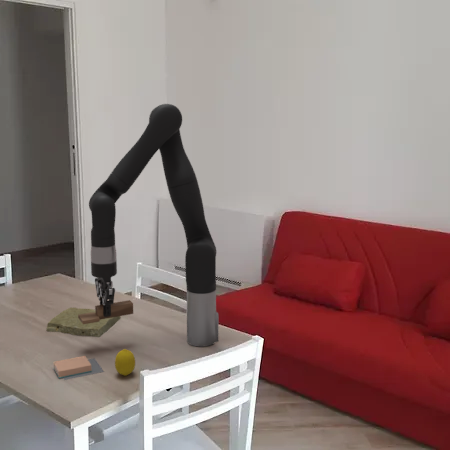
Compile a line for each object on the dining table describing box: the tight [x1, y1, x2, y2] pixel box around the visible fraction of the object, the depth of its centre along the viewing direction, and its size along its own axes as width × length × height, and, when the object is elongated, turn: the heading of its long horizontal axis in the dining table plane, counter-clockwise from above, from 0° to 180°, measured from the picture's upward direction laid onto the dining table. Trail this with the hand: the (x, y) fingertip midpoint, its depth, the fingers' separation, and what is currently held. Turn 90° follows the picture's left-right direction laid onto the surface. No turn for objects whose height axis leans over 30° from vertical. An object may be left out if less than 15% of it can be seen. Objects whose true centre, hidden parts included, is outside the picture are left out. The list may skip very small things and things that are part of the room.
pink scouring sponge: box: [53, 355, 92, 379], centre depth 163 cm, size 2×7×9 cm
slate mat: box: [63, 357, 105, 381], centre depth 164 cm, size 11×10×1 cm
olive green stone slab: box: [45, 307, 122, 338], centre depth 198 cm, size 19×20×4 cm
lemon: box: [114, 348, 136, 377], centre depth 160 cm, size 6×6×8 cm
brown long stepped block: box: [78, 299, 134, 324], centre depth 177 cm, size 6×16×4 cm, turn 117°
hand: (105, 314), depth 177 cm, fingers closed on brown long stepped block, 3 cm apart
